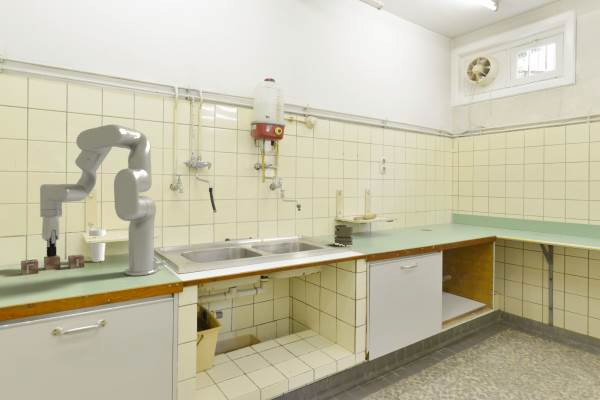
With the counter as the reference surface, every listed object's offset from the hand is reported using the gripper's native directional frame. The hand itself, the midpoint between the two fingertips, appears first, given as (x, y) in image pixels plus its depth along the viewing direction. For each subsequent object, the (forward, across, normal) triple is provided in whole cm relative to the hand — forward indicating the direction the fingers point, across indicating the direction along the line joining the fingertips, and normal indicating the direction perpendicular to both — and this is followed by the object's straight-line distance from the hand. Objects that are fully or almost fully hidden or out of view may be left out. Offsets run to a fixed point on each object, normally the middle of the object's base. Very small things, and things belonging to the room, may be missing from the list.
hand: (51, 255), depth 147 cm
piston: (+4, +42, +144) cm, 150 cm away
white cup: (+5, -3, +18) cm, 19 cm away
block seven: (+5, +4, -8) cm, 10 cm away
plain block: (+5, 0, 0) cm, 5 cm away
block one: (+5, +4, +8) cm, 11 cm away
